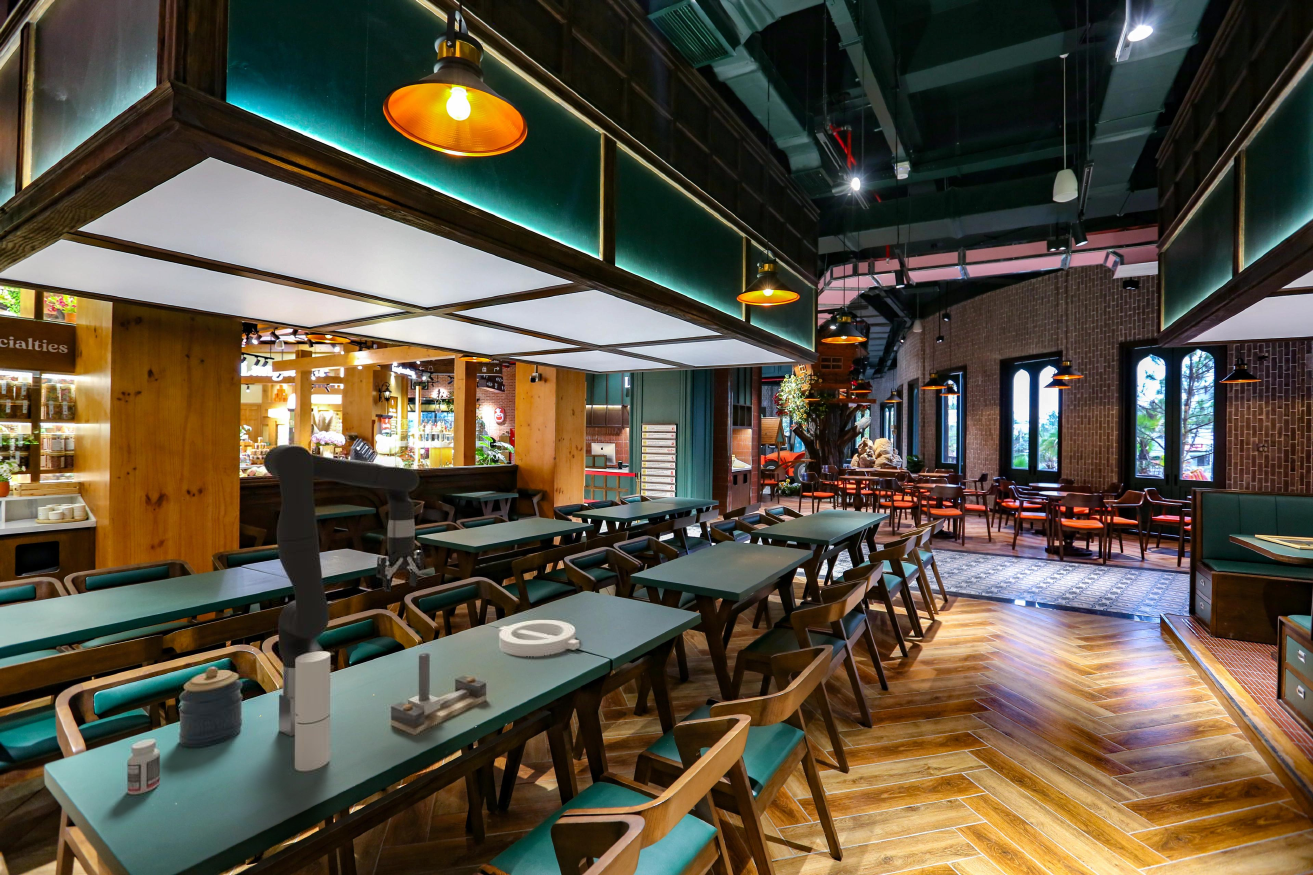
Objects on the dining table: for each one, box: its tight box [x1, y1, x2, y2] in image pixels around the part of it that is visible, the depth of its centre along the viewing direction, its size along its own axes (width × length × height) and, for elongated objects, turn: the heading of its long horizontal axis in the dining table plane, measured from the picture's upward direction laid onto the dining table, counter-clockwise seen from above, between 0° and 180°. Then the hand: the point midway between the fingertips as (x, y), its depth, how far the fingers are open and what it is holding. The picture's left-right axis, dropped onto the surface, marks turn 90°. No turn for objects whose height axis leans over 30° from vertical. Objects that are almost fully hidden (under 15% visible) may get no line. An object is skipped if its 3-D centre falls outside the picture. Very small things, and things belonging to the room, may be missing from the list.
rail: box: [390, 675, 487, 735], centre depth 164 cm, size 24×10×6 cm, turn 148°
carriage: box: [407, 652, 440, 715], centre depth 159 cm, size 5×7×14 cm
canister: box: [178, 666, 243, 749], centre depth 150 cm, size 13×13×18 cm
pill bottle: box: [126, 738, 161, 795], centre depth 128 cm, size 5×5×10 cm
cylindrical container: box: [294, 650, 331, 772], centre depth 138 cm, size 7×7×25 cm
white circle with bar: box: [498, 619, 580, 658], centre depth 220 cm, size 28×28×5 cm
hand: (400, 588), depth 176 cm, fingers open, 8 cm apart
